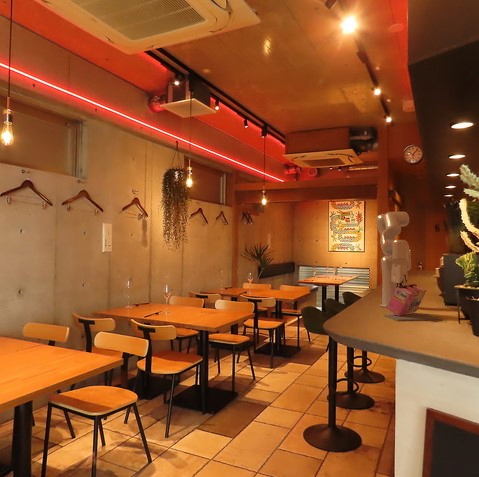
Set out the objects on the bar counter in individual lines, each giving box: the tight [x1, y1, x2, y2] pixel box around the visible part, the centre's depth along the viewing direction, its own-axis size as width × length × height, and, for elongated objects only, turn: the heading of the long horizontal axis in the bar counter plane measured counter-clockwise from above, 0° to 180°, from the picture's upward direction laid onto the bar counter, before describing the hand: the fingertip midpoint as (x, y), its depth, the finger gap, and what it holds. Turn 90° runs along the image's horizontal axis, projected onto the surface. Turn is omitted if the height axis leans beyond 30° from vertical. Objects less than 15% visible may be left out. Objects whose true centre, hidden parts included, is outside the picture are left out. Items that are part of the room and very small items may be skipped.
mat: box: [383, 313, 443, 322], centre depth 214 cm, size 14×24×1 cm, turn 98°
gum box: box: [386, 283, 427, 316], centre depth 223 cm, size 24×8×14 cm, turn 135°
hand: (399, 295), depth 226 cm, fingers closed
